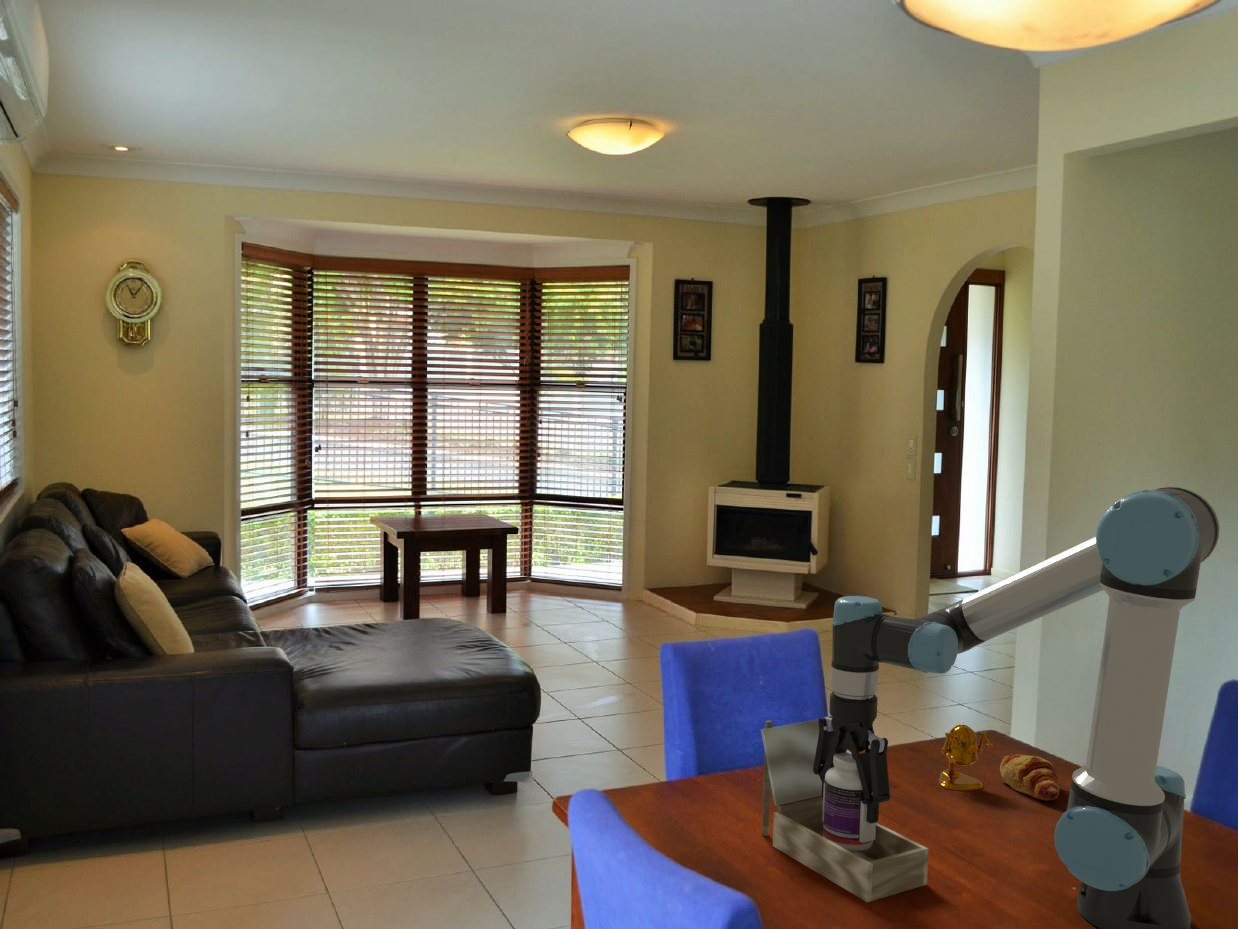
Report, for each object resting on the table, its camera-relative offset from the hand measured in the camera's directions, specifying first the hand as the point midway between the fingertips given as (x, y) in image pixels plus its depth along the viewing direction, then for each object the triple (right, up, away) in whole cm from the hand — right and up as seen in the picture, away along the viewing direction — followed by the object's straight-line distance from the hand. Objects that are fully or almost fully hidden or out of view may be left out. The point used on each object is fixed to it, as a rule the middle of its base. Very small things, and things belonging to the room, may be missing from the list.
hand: (848, 830), depth 175 cm
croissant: (+44, -5, +38) cm, 58 cm away
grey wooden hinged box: (-1, -6, +2) cm, 6 cm away
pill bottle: (0, -2, 0) cm, 2 cm away
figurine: (+30, -4, +39) cm, 49 cm away
